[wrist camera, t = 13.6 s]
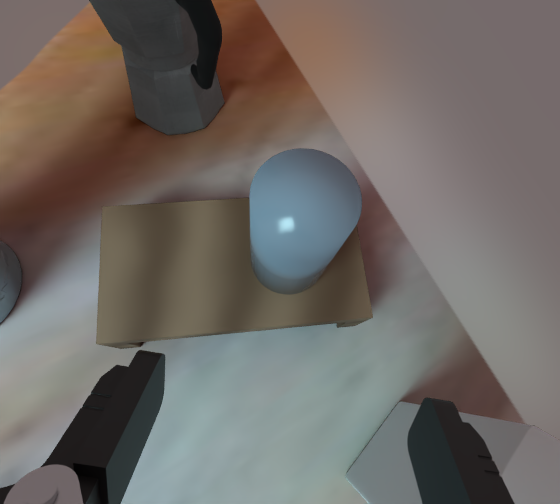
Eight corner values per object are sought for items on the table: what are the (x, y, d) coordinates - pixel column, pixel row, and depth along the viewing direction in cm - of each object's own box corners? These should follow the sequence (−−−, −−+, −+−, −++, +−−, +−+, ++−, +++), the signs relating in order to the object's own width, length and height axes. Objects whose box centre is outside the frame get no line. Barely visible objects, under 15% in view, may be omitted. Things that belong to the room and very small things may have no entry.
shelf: (121, 348, 30) (96, 344, 25) (124, 230, 33) (102, 206, 28) (354, 325, 32) (373, 317, 27) (337, 216, 34) (350, 191, 30)
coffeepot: (101, 73, 38) (-24, -177, 20) (182, 34, 40) (130, -221, 23) (186, 186, 34) (122, 2, 17) (269, 137, 37) (284, -69, 20)
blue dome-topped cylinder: (253, 297, 27) (254, 255, 17) (247, 225, 28) (245, 151, 19) (329, 291, 27) (371, 246, 18) (319, 221, 29) (352, 145, 19)
